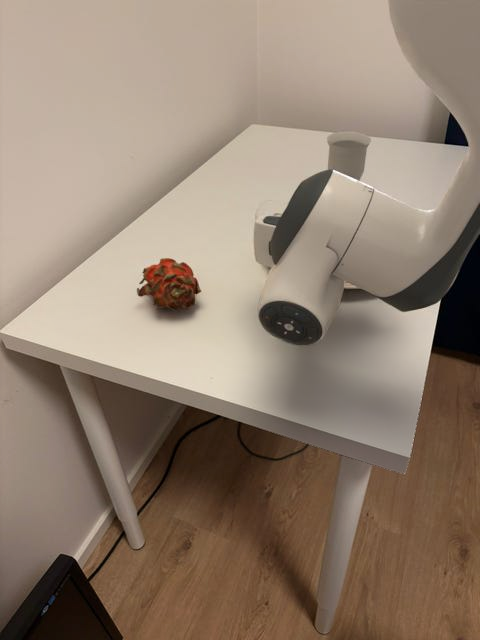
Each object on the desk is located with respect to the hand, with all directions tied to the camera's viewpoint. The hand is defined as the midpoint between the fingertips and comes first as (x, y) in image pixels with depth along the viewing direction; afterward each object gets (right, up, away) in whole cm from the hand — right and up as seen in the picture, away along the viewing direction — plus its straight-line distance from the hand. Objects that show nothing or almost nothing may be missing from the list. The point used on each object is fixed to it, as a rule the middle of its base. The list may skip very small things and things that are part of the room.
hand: (336, 202), depth 72 cm
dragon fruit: (-26, -15, +8) cm, 31 cm away
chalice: (+3, -3, +15) cm, 16 cm away
